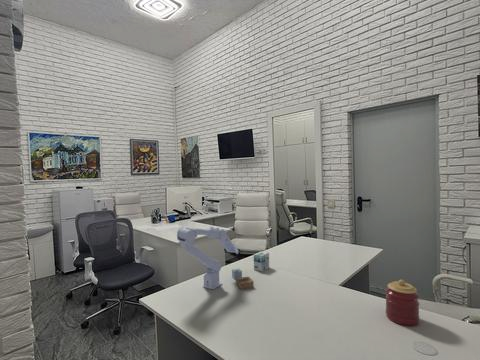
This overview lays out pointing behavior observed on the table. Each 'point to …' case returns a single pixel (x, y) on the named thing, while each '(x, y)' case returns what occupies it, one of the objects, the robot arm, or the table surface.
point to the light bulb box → (261, 261)
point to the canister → (402, 303)
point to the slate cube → (236, 273)
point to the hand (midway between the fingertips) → (236, 256)
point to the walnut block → (244, 283)
